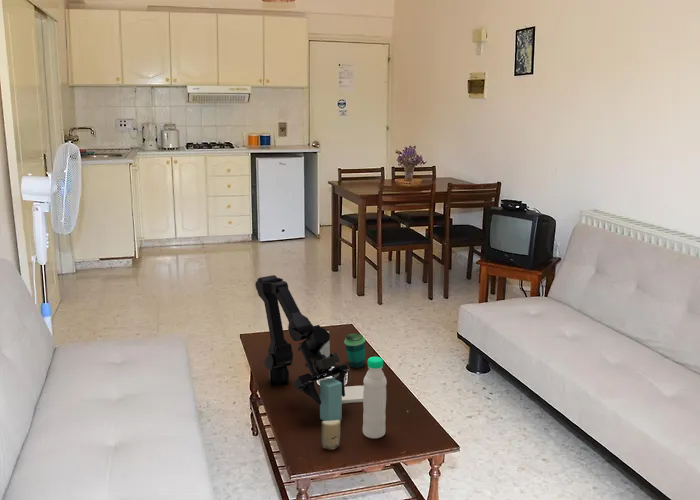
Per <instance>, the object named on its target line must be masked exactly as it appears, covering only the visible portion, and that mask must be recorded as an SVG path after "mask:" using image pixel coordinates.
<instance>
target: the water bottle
mask: <svg viewBox="0 0 700 500" xmlns="http://www.w3.org/2000/svg"><path fill="white" fill-rule="evenodd" d="M383 367H384V360H383V358H381V357H379V356H371V357H369V358H368V359H367V368H368V370H367V372H366V374H365V376H364V377H363V385H364V392H363V402H362V405H363V412H362V413H363V414H362V416H363V417H362V420H363V421H362V423H363V424H362V433H363V435H364V436H365V437H367V438H369V439H373V440H375V439H379V438H380V439H381V438H382V437H384V435H385V434H386V414H387V413H386V408H387V407H386V406H387V377H386V376H385V373H384V371H383V370H382V369H383Z"/></svg>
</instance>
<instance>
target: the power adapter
mask: <svg viewBox="0 0 700 500" xmlns="http://www.w3.org/2000/svg"><path fill="white" fill-rule="evenodd" d="M341 421H342V420H331V421H323V420H322V421H321V447H322V449H326V450H336V449H337V448H339V447H340V442H341V441H340V440H341V439H340V438H341V423H342V422H341Z"/></svg>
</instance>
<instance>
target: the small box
mask: <svg viewBox="0 0 700 500" xmlns="http://www.w3.org/2000/svg"><path fill="white" fill-rule="evenodd" d="M327 332H329V333H330V331H328V330H327ZM330 340H331V339H329V341H328V342H327V343H326V344H325V346H324V347H323V348H322V349H321V350H320V352H321V354H322V355H323V354H324V355H325V357H326V358H328V357H330V354H331V352H330V351H331V349H330V348H331V345H330V344H331V342H330Z"/></svg>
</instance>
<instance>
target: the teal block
mask: <svg viewBox="0 0 700 500" xmlns="http://www.w3.org/2000/svg"><path fill="white" fill-rule="evenodd" d="M319 397H320V400H321V403H322V404H321V405H319V419H320V420H322V422H323V421H331V420H340V421H342V420H343V419H342V413H343V411H342V410H343V409H342V408H343V406H342V405H343V403H342V383H341V382H339V381H338V380H336V379H335V378H333V377H328V378H325V379H324V380H323V379H322V380H320V381H319Z"/></svg>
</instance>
